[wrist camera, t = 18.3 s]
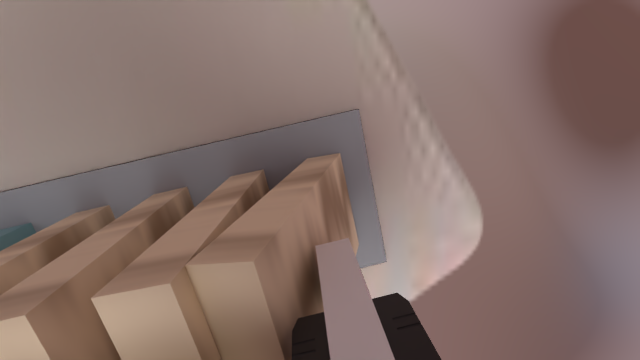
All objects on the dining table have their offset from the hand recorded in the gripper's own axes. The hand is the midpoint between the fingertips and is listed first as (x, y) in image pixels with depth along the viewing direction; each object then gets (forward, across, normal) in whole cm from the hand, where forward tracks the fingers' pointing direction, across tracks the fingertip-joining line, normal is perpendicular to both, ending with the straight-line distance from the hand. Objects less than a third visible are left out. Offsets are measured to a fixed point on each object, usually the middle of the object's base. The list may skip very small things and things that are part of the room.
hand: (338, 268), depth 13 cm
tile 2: (+9, -5, 0) cm, 10 cm away
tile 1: (+9, +1, 0) cm, 9 cm away
